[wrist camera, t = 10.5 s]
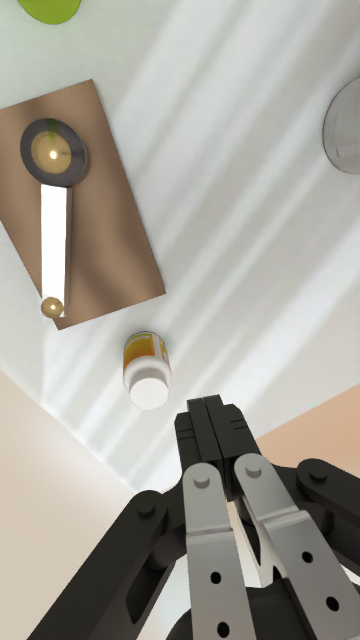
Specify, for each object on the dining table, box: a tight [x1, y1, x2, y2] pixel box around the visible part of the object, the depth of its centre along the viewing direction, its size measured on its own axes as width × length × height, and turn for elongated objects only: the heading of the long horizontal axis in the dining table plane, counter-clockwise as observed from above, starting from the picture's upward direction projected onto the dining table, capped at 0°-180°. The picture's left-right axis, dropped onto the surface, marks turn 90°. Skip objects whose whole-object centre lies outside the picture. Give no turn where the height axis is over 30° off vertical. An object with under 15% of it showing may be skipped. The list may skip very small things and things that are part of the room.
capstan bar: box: [20, 118, 91, 318], centre depth 30 cm, size 17×5×5 cm, turn 171°
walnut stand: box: [0, 79, 166, 330], centre depth 33 cm, size 13×21×2 cm, turn 17°
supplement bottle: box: [123, 332, 172, 410], centre depth 37 cm, size 5×5×10 cm
